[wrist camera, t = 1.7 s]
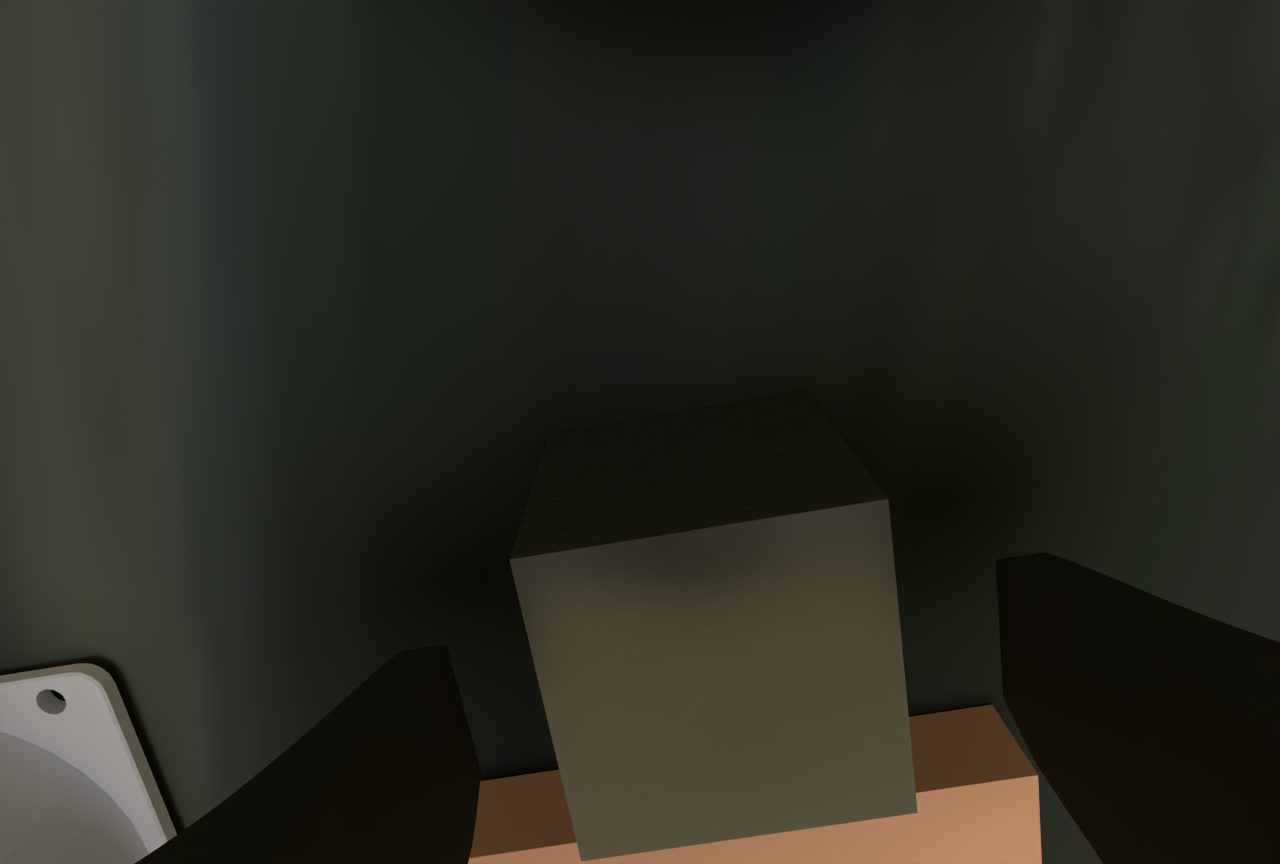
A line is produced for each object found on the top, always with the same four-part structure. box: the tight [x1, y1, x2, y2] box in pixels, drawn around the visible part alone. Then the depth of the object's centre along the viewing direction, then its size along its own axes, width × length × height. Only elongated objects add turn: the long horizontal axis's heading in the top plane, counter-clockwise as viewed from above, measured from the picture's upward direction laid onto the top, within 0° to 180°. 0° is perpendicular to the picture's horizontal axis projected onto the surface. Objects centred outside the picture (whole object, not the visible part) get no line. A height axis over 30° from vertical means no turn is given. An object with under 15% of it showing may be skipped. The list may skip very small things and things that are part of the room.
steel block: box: [509, 390, 918, 861], centre depth 13 cm, size 4×4×5 cm
